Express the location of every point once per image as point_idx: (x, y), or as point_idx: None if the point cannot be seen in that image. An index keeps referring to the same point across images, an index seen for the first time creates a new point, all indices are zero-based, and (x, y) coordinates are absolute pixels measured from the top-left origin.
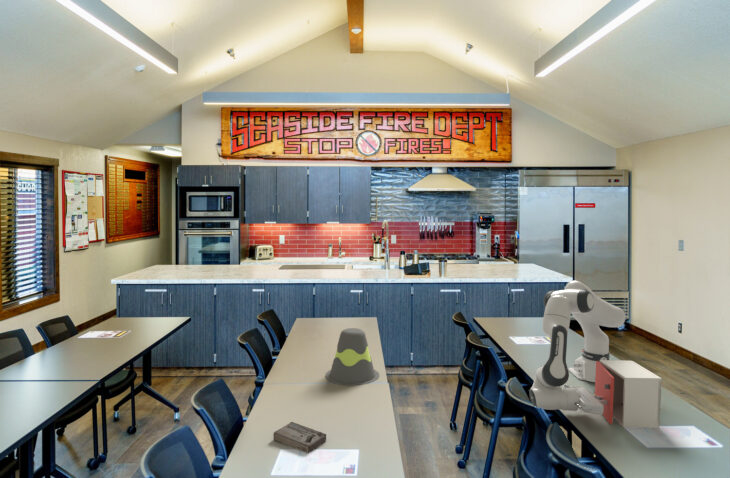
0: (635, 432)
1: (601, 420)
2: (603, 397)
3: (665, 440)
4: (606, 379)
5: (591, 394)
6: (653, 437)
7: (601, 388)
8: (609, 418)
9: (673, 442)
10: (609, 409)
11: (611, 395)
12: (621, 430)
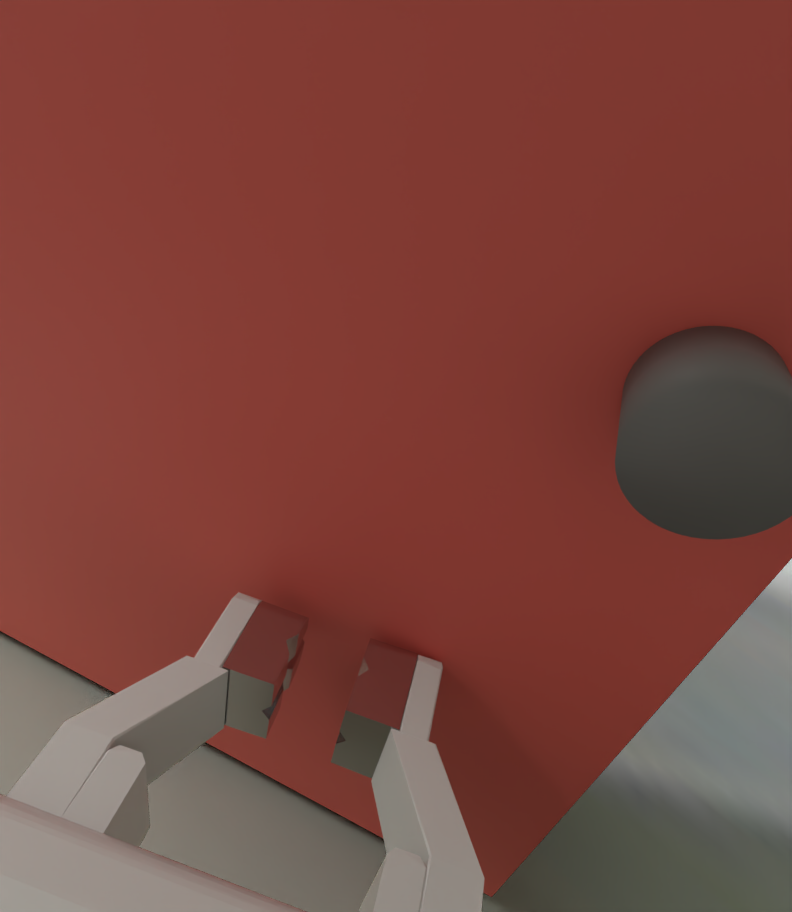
0: (656, 726)
1: (316, 905)
2: (202, 566)
3: (756, 611)
4: (433, 165)
5: (83, 838)
6: (727, 652)
7: (73, 411)
8: (498, 858)
9: (772, 588)
10: (532, 782)
11: (739, 601)
12: (632, 854)
